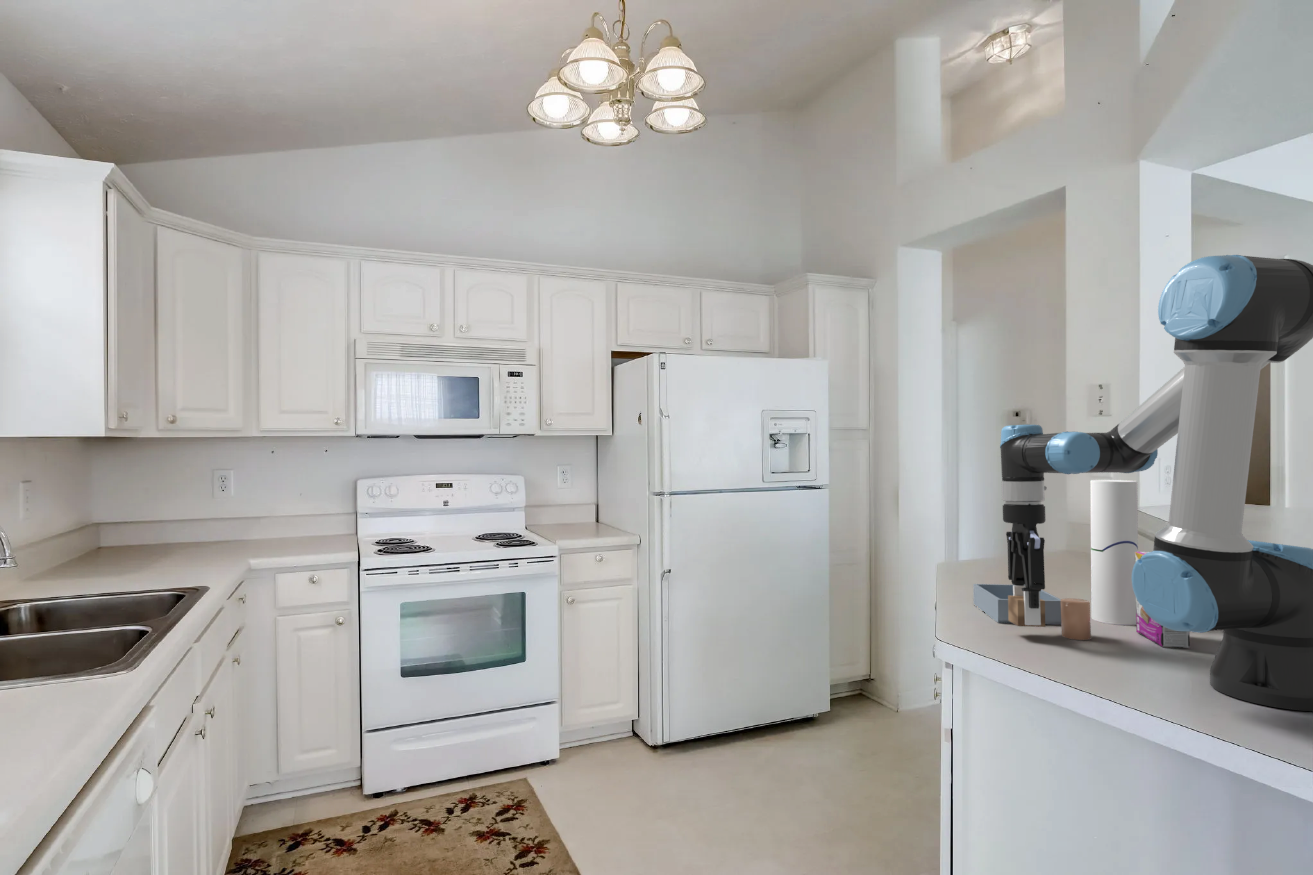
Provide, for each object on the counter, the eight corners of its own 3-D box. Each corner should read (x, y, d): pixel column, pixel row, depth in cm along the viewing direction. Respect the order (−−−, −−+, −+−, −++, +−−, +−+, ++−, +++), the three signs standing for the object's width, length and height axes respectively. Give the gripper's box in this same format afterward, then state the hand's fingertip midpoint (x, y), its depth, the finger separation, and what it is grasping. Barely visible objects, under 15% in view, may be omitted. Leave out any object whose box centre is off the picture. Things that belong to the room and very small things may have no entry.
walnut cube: (1045, 626, 139) (1044, 600, 139) (1018, 626, 140) (1017, 600, 140) (1034, 621, 144) (1034, 596, 144) (1008, 620, 145) (1008, 595, 145)
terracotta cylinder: (1095, 639, 139) (1094, 603, 140) (1068, 639, 140) (1067, 603, 140) (1083, 633, 144) (1082, 598, 145) (1057, 633, 145) (1056, 598, 145)
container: (1148, 625, 151) (1146, 481, 151) (1106, 625, 151) (1105, 481, 151) (1122, 615, 159) (1121, 479, 160) (1083, 615, 160) (1082, 479, 160)
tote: (1064, 624, 151) (1064, 601, 151) (998, 623, 153) (998, 599, 153) (1032, 606, 168) (1032, 585, 168) (973, 605, 170) (973, 583, 170)
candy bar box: (1134, 632, 145) (1133, 550, 145) (1161, 633, 144) (1161, 551, 144) (1161, 648, 134) (1160, 559, 134) (1191, 649, 133) (1190, 560, 133)
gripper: (1063, 505, 133) (1067, 632, 132) (1026, 500, 151) (1029, 612, 150) (1020, 505, 134) (1023, 631, 133) (988, 500, 152) (991, 611, 151)
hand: (1027, 621), depth 142 cm, fingers closed on walnut cube, 5 cm apart
